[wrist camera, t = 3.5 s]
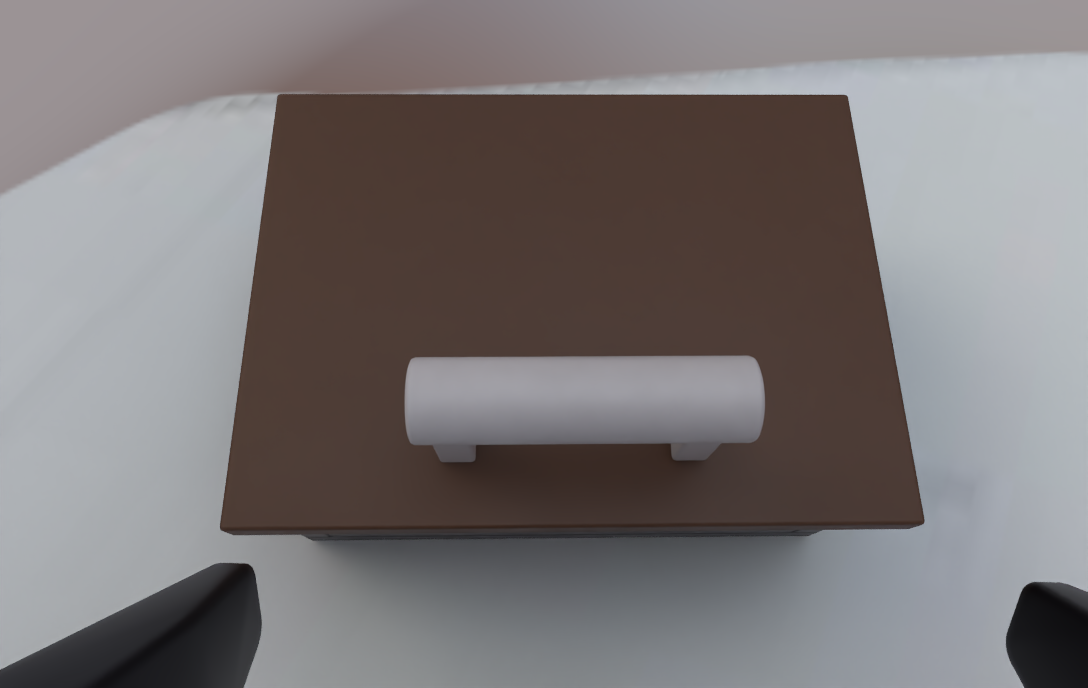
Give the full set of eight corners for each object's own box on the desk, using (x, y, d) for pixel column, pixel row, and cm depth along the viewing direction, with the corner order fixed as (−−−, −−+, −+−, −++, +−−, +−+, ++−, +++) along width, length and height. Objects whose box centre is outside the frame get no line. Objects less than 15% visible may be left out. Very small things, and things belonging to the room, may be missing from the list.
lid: (910, 529, 16) (1046, 488, 12) (230, 535, 15) (121, 495, 11) (837, 112, 19) (921, -34, 15) (285, 111, 19) (217, -37, 15)
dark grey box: (810, 535, 21) (904, 499, 16) (310, 540, 21) (236, 505, 16) (770, 228, 25) (837, 113, 19) (339, 229, 24) (286, 112, 19)
